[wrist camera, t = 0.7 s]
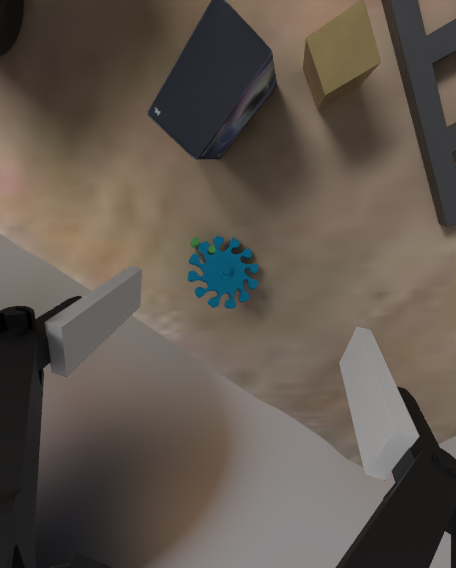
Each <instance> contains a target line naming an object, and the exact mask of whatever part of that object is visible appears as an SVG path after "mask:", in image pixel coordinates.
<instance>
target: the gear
mask: <svg viewBox="0 0 456 568" xmlns="http://www.w3.org/2000/svg"><path fill="white" fill-rule="evenodd" d="M223 242H224V238H222V237H218V236H216V237H215V238H214V240H213V243H214V245H215V247H214V246H209V244H208V242H203V243H200V239H199V238H197V237H195V238H193V240H192V242H191V246H192V247H193V248H195V251H196V253H195V254H193V255H192V256H191V258H190V259H189V263H190V264H192V265H196V266H198V267H199V268H200V269H201V270H202V271H203V276H199V275H198V274H197V273H196V272H195V271H190V272H189V274H188V281H190V282H193V281H196V280H200V281H203V282H206V283H207V285H208V287H207V289H204V288H202V287H197V288H196V289H195V290H194V291H195V294H196V296H197V298H200V297H202V296H203V295H204V294H205V293H206V292H208V291H216V292H217V297H215V298H211V299H209V301H208V304H209V305H210V306H211V307H213V308H215V307H217V306H218V305H219V300H220V298H221V296H222V295H223V294H225V293H227V294H228V295H229V299H228V300H227V301H226V302H225V307H226V308H235V306H236V304H235V301H234V293H235V290H236V289H238V290H239V291H240V296H239V300H240V302H245V301H247V300H249V299H250V295H249V294H248V293H247V292H246V291H245V289H244V287H243V280H245V281H247V283H248V287H249V289H251V290H253V289H255V288H256V287H257V285H258V281H257V280H254V279H251V278H249V277H248V276H247V275H246V273H245V271H244V270H245V269H248V270H249V271H250V273H252V274H255V273H257V272H258V264H251V265H248V264H245V263H242V262H241V261H240V257H243V258H245V259H249V258H250V257H251V256H252V253H251V251H250V249H249V248H247V249H245V250H244V251H243V252H242V253H241V254H235V255H234V254H232V253H231V249H236V248H237V247H238V246H239V245H240V243H239V242H238V241H237V240H236V239H234V238H233V239H232V240H231V241H230V242H229V247H228V249H227V250H226V251H224V252H222V251H220V249H219V246H220V245H222V243H223ZM213 253H214V254H213ZM199 257H200V258H201V260H202V261H203V262H204V263H205V264H202V263H200V261H199Z"/></svg>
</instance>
